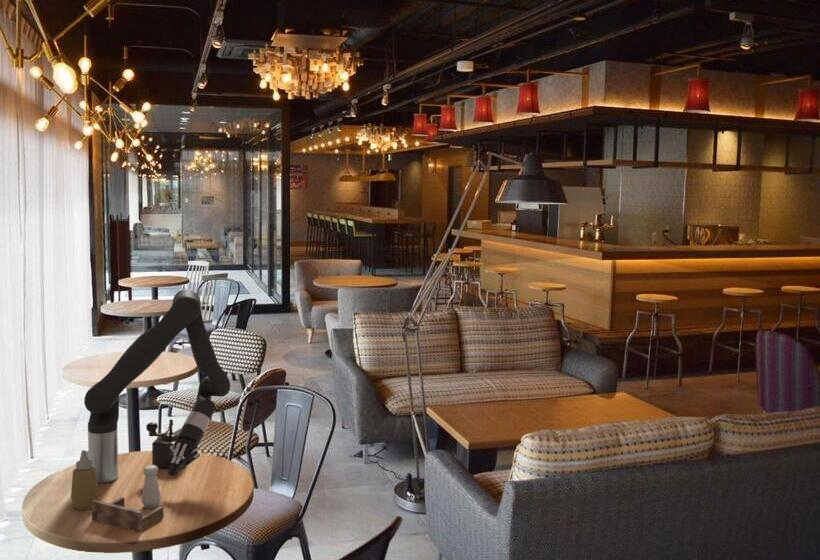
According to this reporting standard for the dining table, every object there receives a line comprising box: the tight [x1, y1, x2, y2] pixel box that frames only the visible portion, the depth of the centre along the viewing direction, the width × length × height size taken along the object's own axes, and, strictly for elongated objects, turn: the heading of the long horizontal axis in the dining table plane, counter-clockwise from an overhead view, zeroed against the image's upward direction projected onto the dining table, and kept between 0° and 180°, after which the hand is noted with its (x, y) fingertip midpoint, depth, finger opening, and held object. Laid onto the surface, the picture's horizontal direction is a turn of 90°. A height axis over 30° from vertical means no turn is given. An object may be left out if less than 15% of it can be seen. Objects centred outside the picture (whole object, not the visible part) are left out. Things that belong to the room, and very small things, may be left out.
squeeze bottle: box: [70, 449, 100, 511], centre depth 231 cm, size 8×8×18 cm
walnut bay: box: [91, 496, 164, 533], centre depth 225 cm, size 18×11×6 cm, turn 68°
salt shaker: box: [141, 464, 162, 510], centre depth 233 cm, size 6×6×13 cm
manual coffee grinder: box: [145, 419, 184, 470], centre depth 265 cm, size 16×11×18 cm
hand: (170, 475), depth 241 cm, fingers closed
